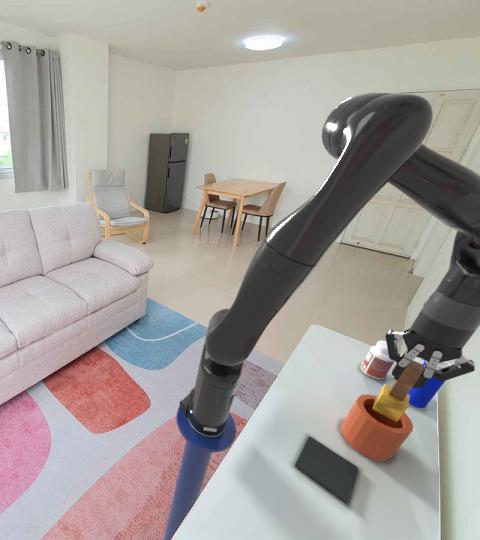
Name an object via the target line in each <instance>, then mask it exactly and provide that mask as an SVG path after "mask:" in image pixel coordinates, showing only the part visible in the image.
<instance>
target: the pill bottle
mask: <svg viewBox="0 0 480 540" xmlns="http://www.w3.org/2000/svg"><path fill="white" fill-rule="evenodd" d="M397 349H398V350H399V348H398V347H397ZM395 363H396V362H395V361H394V360H391V359H390V358H389V354H388V348H387V343H386V340H378V341H377V342H376V345H373V346H371V347H370V349H369V350H368V353H367V354H366V356H365V358H364V360H363V361H362V363H361V365H360V370H361V372H362V373H363V374H365V375H366V376H368V377H370V378H372V379H375V380H384V379H385V378H386V377H387V374H388V373H389V372H390V370H391V369H392V367H393V365H394V364H395Z"/></svg>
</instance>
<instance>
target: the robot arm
mask: <svg viewBox="0 0 480 540" xmlns="http://www.w3.org/2000/svg"><path fill="white" fill-rule="evenodd" d="M433 119H434V111H433V107H432V104H431V102H430V101H429V100H428V99H426V98H425V97H424V96H421V95H418V94H413V93H398V92H397V93H396V92H395V93H394V92H367V93H361V94H357V95H354V96H351V97H349V98H347V99H346V100H344V101H342V102H340V103H339V104H337V106H335V108H334V109H333V110H332V111H330V113H329V114H328V116H327V117H326V119H325V121H324V123H323V126H322V130H321V142H322V145H323V147H324V149H325V150H326V152H327V153H328V154H329V155H330V156H331V157H332V158H334V159H336V160H337V161H336V163H335V164H334V166H333V167H332V169H331V171H330V172H329V173H328V175H327V176H326V178H325V180H324V181H323V182H322V184H321V185H320V186H319V188H318V189H317V190H316V191H315V192H314V193H313V195H312V196H311V197H310V198H309V199H307V200H306V201H305V202H304V203H303V204H301V205H300V206H299V207H297V208H296V209H294V210H293V211H292V212H290V213H289V214H287V215H286V216H284V217H283V218H282V219H281V220H279V222H277V223H276V224H275V225H274V226H273V227H272V228H271V229H270V231H269V232H268V233H267V234H266V236H265V238H264V239H263V240H262V242H261V243H260V245H259V247H258V248H257V250H256V252H255V253H254V255H253V257H252V259H251V261H250V262H249V264H248V267H247V269H246V271H245V273H244V275H243V279H242V280H241V284H240V285H239V288H238V291H237V293H236V297H235V299H234V300H233V302H232V304H231V306H230V307H229V308H223V309H220V310H218V311H216V312H214V313H213V315H212V316H211V317H210V318H209V321H208V325H207V330H206V333H205V338H204V343H203V347H202V351H201V356H200V360H199V365H198V369H197V375H196V378H195V383H194V387H193V388H192V389H190V391H189V393H188V394H187V395H186V396H185V397H184V398H183V399H181V400H179V406H180V407H179V406H178V408H179V410H180V411H182V412H183V413H184V414H185V417H186V418H187V419H188V422H189V424H190V426H191V427H192V429H193V430H194V431H195V432H196V433H198V434H199V435H201V436H204V437H207V438H216V437H218V436H220V435H221V434H222V433H223V431H224V429H225V425H226V421H227V418H228V415H229V413H230V412H231V408H232V405H233V402H234V399H235V395H236V392H237V390H238V385H239V383H240V380H241V376H242V372H243V367H244V362H245V361H246V360H247V359H248V358H249V357H250V356H251V354H252V352H253V351H254V349H255V347H256V345H257V344H258V342H259V340H260V339H261V337H262V335H263V334H264V332H265V330H266V329H267V327H268V326H269V325H270V323H271V322H272V320H273V319H274V318H275V317H276V316H277V315H278V314H279V312H280V311H281V310H282V309H283V308H284V306H285V305H286V304H287V303H288V302H289V301H290V299H291V298H292V297H293V295H295V293H296V291H297V290H299V288H300V287H301V286H302V285H303V284H304V282H305V281H306V280H307V279H308V278H309V276H310V275H311V274H312V273H313V271H314V270H315V269H316V268H317V266H318V265H319V263H321V261H322V260H323V257H325V255H326V253H327V252H328V251H329V250H330V249H331V247H332V246H333V245H334V244H335V242H336V241H337V240H338V238H340V236H341V235H342V234H343V233H344V232H345V230H346V229H347V228H348V227H349V226H350V225H351V223H352V222H353V220H355V218H356V217H357V216H358V215H359V213H360V212H361V211H362V210H363V209H364V208H365V207H366V206H367V205H368V204H369V202H370V201H371V200H372V199H373V198H374V197H375V196H376V195H377V194H379V192H380V191H381V190H382V189H383V188H384V187H385V186H386V185H387V184H390V185H391V186H393V187H394V188H396V189H397V190H398V191H399V192H401V193H402V194H404V195H405V196H406V197H407V198H409V199H410V200H411V201H413V202H414V203H415V204H416V205H418V206H420V207H421V208H422V209H424V210H425V211H426V212H428V214H430V215H432V216H433V217H434V218H436V219H437V220H439V221H440V222H441V223H442V224H444V225H445V226H447V227H449V228H450V229H453V230H455V231H456V233H455V236H454V240H453V245H452V250H451V253H450V254H451V255H450V259H449V266H448V269H447V272H446V273H445V274H444V275H443V277H442V279H441V281H440V282H439V284H438V286H437V287H436V289H435V290H434V291H433V292H432V293H431V294H430V295H429V297H428V298H427V300H426V301H425V302H424V304H423V307H422V308H421V310H420V311H419V313H418V315H417V316H416V318H415V319H414V321H413V322H412V324H411V326H410V327H409V328H408V329H405V330H404V331H403V332H401V331H395V330H393V329H387V330H386V333H385V341H386V343H387V348H388V354H389V358H390V359H391V360H394V361H395V362H394V363H395V365H394V367H393V368H392V371H391V376H392V377H393V380H394V381H395V380H398V379H399V378H400V376H401V375H402V373H403V372H404V370H405V368H406V366H407V365H408V364H409V363H410V362H411V361H412V360H413V361H414V360H415V359H416V358H417V359H422V360H424V361H425V360H426V361H427V363H426V365H425V368H424V371H423V373H422V374H421V376H420V377H419V378H418V380H417V381H416V383H415V384H414V386H413V387H412V388H414V389H417V387H418V388H423V387H424V385H425V384H426V382H427V381H428V380H429V379H430V378H436V379H438V380H440V381H445V382H446V381H449V380H452V379H454V378H458V377H461V376H463V375H466V374H469V373H472V372H474V371H475V370H476V364H475V362H474V360H472V359H468V358H467V357H466V356H464V355H463V348H464V347H465V346H466V345H467V343H468V341H469V340H470V339H471V338H472V336H473V335H474V334H475V332H476V331H477V330H478V329H479V327H480V174H479V173H478V172H476V171H475V170H473V169H471V168H469V167H468V166H466V165H463V164H462V163H460V162H458V161H456V160H453V159H451V158H449V157H447V156H446V155H444V154H441V153H439V152H438V151H436V150H434V149H433V148H431V147H429V146H427V145H425V144H423V143H424V141H425V139H426V138H427V136H428V134H429V132H430V130H431V127H432V124H433ZM401 339H403V341H404V344H405V347H406V350H405V351H404V352H403V353H402V354H401V353H399V348H398V345H397V344H398V343H400V341H401ZM397 348H398V349H397ZM445 361H447V362H450V361H454V364H451V365H450V366H448V367H445V368H442V369H439V370H436V368H437V365H438V363H441V362H445Z"/></svg>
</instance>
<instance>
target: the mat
mask: <svg viewBox="0 0 480 540" xmlns="http://www.w3.org/2000/svg"><path fill="white" fill-rule="evenodd" d="M294 467H295V468H297V469H298V470H299V471H300V472H302V473H303V474H305V475H306V476H307V477H309V478H310V479H311V480H313V481H315V482H316V483H317V484H318V485H320V486H321V487H322V488H324V489H325V490H326V491H328V492H329V493H331V494H332V495H334V496H335V497H336V498H337V499H339V500H340V501H341V502H343V503H345V504H348V503H349V500H350V496H351V494H352V491H353V490H352V489H353V486H354V483H355V479H356V476H357V472H358V469H359V467H358V466H356V465H355V464H353V463H352V462H350V461H349V460H347V459H346V458H344V457H343V456H342V455H339V454H338V453H337V452H335V451H333V450H332V449H331V448H329V447H328V446H326V445H325V444H323V443H321V442H320V441H318V440H317V439H315V438H314V437H312V436H310V435H309V436H308V437H307V439H306V440H305V443H304V445H303V447H302V450H301V452H300V453H299V456H298V458H297V460H296V462H295V464H294Z"/></svg>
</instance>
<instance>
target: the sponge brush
mask: <svg viewBox="0 0 480 540" xmlns="http://www.w3.org/2000/svg"><path fill="white" fill-rule="evenodd" d="M423 371H424V365H423V363H421V362H418V361H416V360H414V359H413V360H412V361H411V362H410V363H409V364H408V365H407V366H406V368H405V370H404V372H403V373H402V375H401V376H400V378H399V379H398V380H395V379H394V381H393V383H392V384H391V385H389V384H387V383H384V385H383V386H382V388H380V389H381V390H380V391H379V392H378V394H377V395H376V396H377V397H376V399H375V402H374V406H373V410H375V411H377V412H379V413H381V414H383V415H384V416H386V417H388V418H390V419H392V420H394V421H396V422H397V421H398V420H399V419H400V417H401V416H402V415H403V413H404V412H405V413H406V411H407V409H408V408H409V405H408V404H409V398H410V395H408V393H409V391H410V390H411V388H412V387H413V386H414V384H415V383H416V381H417V380H418V378H419V377H420V376H421V374H422V373H423Z"/></svg>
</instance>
